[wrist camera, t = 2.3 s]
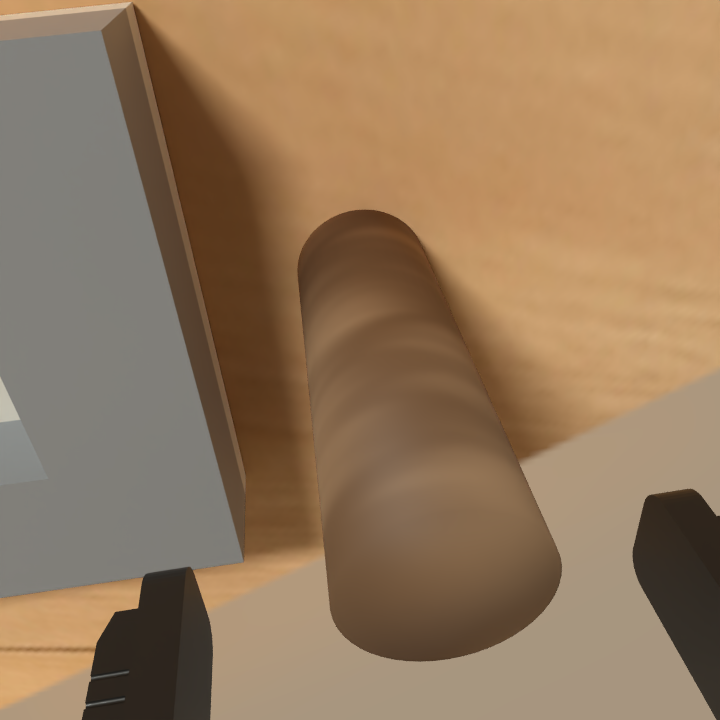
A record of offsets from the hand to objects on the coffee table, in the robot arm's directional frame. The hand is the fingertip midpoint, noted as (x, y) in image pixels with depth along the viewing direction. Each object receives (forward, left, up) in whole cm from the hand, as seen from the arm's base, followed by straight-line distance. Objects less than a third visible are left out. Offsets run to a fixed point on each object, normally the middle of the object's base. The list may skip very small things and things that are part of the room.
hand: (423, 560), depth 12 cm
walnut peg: (0, 0, -11) cm, 11 cm away
